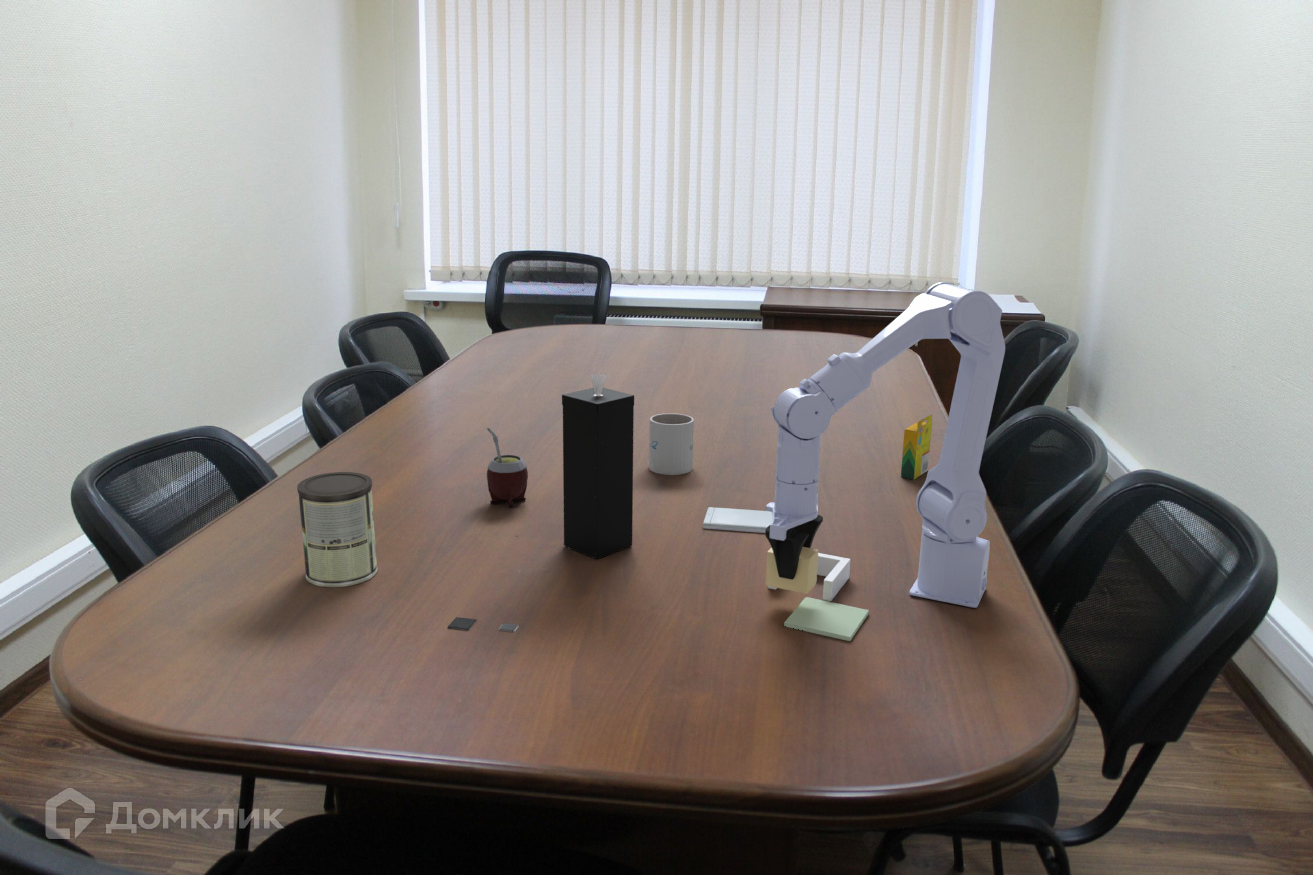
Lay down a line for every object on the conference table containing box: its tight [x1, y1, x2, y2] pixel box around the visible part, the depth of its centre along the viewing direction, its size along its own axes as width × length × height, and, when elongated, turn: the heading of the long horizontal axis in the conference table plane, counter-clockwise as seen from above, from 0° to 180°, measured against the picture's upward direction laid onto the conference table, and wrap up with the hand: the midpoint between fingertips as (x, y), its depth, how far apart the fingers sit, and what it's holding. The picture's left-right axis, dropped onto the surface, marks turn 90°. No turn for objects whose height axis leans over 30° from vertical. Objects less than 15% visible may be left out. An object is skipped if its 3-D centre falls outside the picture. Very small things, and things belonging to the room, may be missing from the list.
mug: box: [648, 412, 695, 476], centre depth 203 cm, size 12×9×10 cm
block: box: [765, 547, 819, 595], centre depth 142 cm, size 6×4×5 cm, turn 64°
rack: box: [767, 552, 852, 602], centre depth 150 cm, size 9×9×3 cm
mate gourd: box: [486, 428, 529, 509], centre depth 179 cm, size 8×8×15 cm
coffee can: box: [296, 471, 379, 588], centre depth 149 cm, size 10×10×14 cm
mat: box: [783, 596, 870, 642], centre depth 139 cm, size 9×9×1 cm
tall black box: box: [561, 374, 635, 559], centre depth 159 cm, size 8×8×28 cm
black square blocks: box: [447, 616, 520, 633], centre depth 136 cm, size 14×20×1 cm
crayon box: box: [900, 414, 933, 480], centre depth 199 cm, size 7×3×12 cm, turn 144°
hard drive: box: [702, 506, 773, 534], centre depth 174 cm, size 2×8×12 cm
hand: (792, 571), depth 142 cm, fingers closed on block, 4 cm apart
